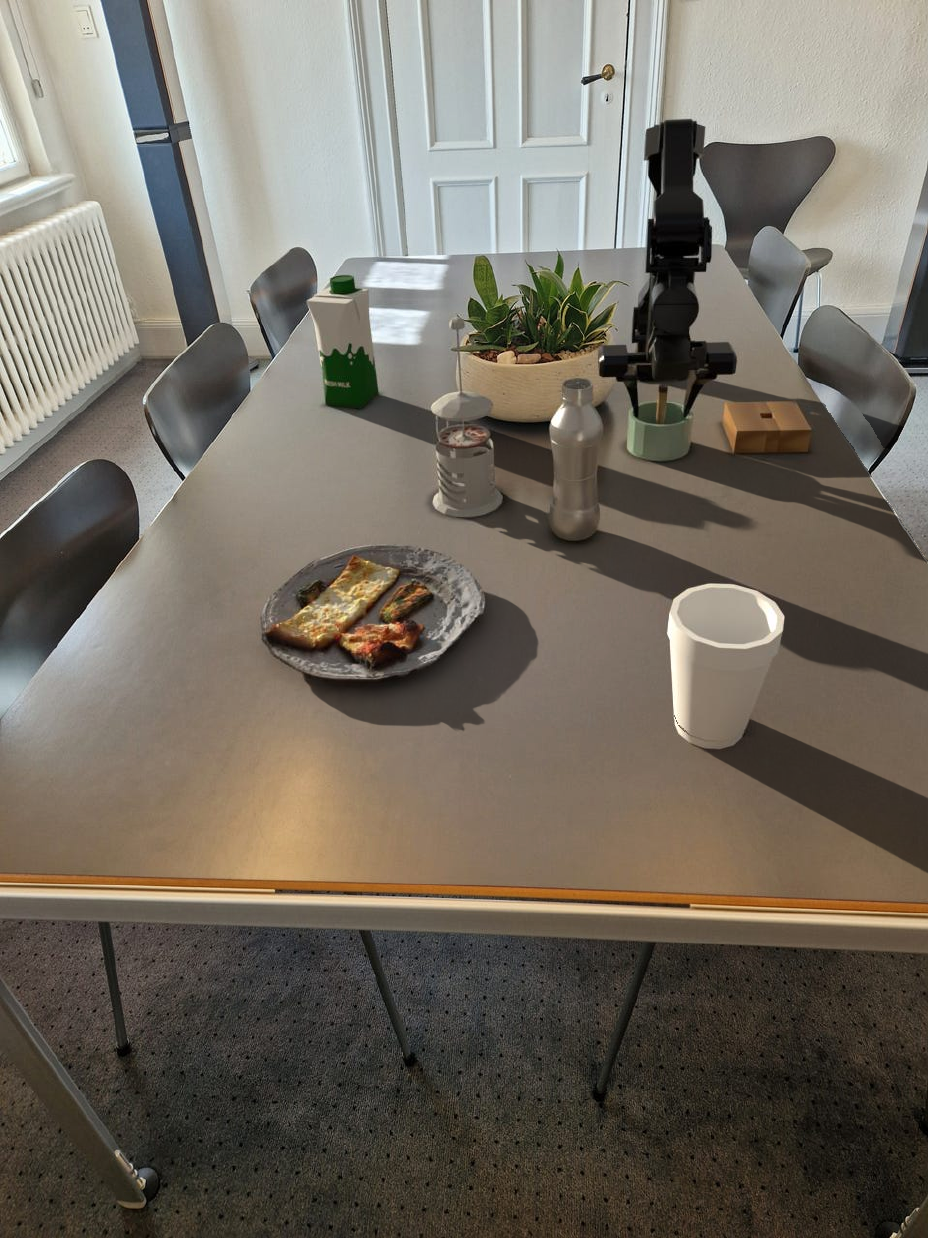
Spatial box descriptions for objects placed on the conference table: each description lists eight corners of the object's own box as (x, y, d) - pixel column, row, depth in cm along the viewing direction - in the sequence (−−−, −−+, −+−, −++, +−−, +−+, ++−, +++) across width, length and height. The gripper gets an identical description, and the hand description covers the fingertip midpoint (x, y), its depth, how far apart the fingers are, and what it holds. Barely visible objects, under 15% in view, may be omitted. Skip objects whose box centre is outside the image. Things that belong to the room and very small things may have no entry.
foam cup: (647, 696, 84) (658, 588, 76) (739, 687, 84) (759, 578, 76) (674, 766, 76) (689, 654, 68) (776, 756, 77) (802, 643, 69)
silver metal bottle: (606, 525, 111) (613, 375, 99) (589, 551, 106) (595, 397, 94) (559, 517, 113) (560, 370, 101) (541, 542, 108) (540, 391, 96)
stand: (733, 453, 125) (736, 430, 123) (722, 423, 133) (725, 402, 131) (807, 452, 124) (812, 429, 122) (791, 422, 132) (795, 400, 130)
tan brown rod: (654, 445, 127) (659, 387, 122) (653, 441, 128) (658, 384, 123) (663, 445, 127) (668, 387, 122) (662, 441, 128) (667, 384, 123)
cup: (629, 461, 125) (631, 426, 121) (624, 434, 132) (627, 401, 129) (693, 460, 124) (697, 425, 120) (685, 433, 131) (688, 399, 128)
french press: (452, 524, 113) (438, 336, 98) (415, 489, 121) (397, 311, 106) (515, 504, 116) (511, 319, 101) (476, 472, 125) (466, 297, 110)
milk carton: (385, 392, 152) (372, 275, 140) (362, 411, 145) (345, 291, 133) (342, 387, 155) (325, 272, 143) (317, 406, 148) (297, 288, 136)
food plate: (391, 722, 83) (387, 695, 81) (220, 651, 93) (213, 626, 91) (516, 592, 99) (515, 567, 97) (359, 544, 110) (355, 521, 108)
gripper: (603, 329, 110) (598, 441, 120) (751, 325, 108) (734, 439, 118) (599, 303, 119) (595, 409, 128) (736, 299, 117) (722, 407, 126)
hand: (660, 416), depth 125 cm, fingers open, 7 cm apart
